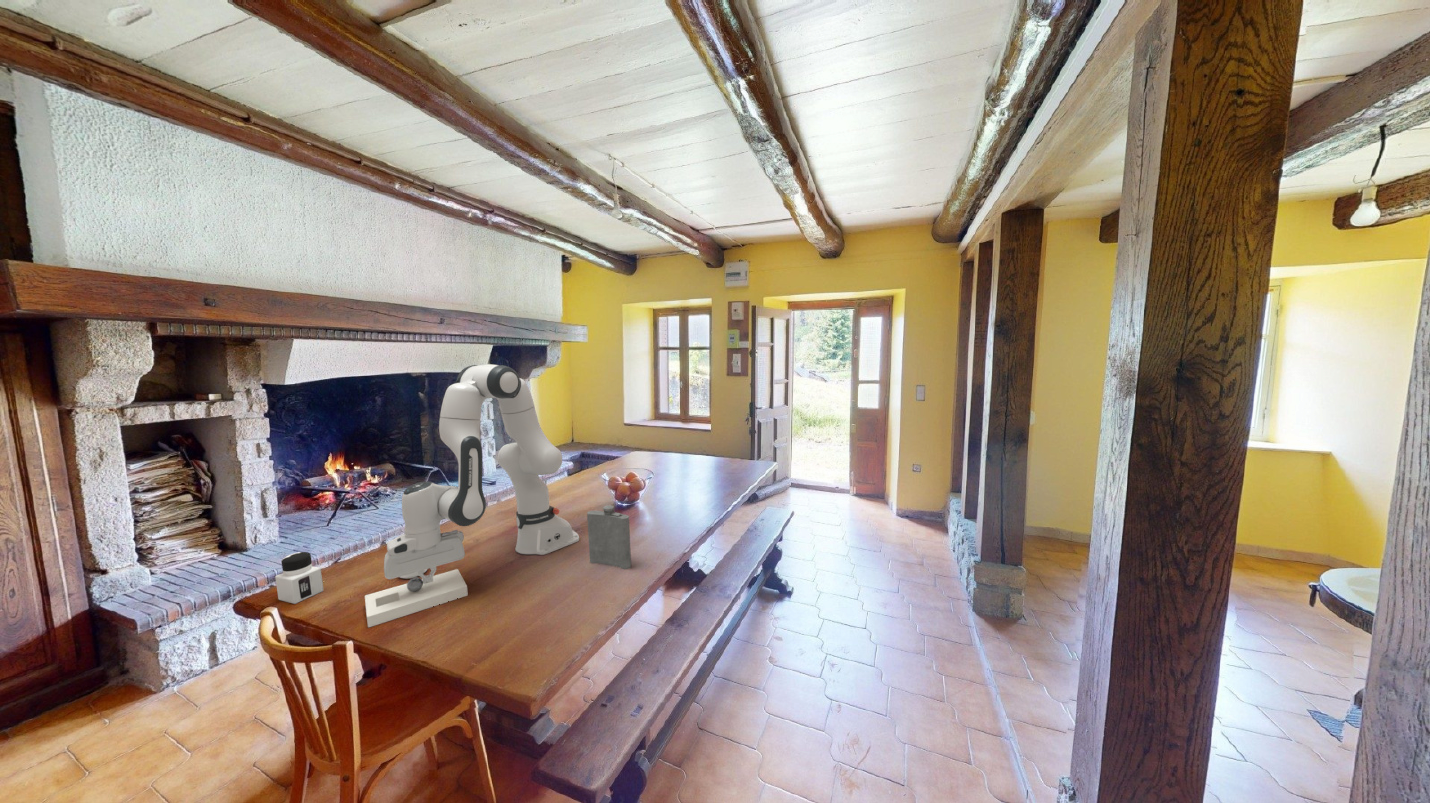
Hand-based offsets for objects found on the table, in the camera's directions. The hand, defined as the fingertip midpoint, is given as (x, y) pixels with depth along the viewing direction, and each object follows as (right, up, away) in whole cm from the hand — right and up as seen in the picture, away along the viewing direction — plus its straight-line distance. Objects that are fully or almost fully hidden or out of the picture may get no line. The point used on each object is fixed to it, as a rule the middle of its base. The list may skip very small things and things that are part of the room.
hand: (428, 581), depth 136 cm
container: (-40, -6, +3) cm, 41 cm away
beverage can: (-14, -3, +15) cm, 21 cm away
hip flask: (+50, -2, +20) cm, 54 cm away
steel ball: (-3, 0, -2) cm, 3 cm away
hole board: (-2, -5, -1) cm, 6 cm away
